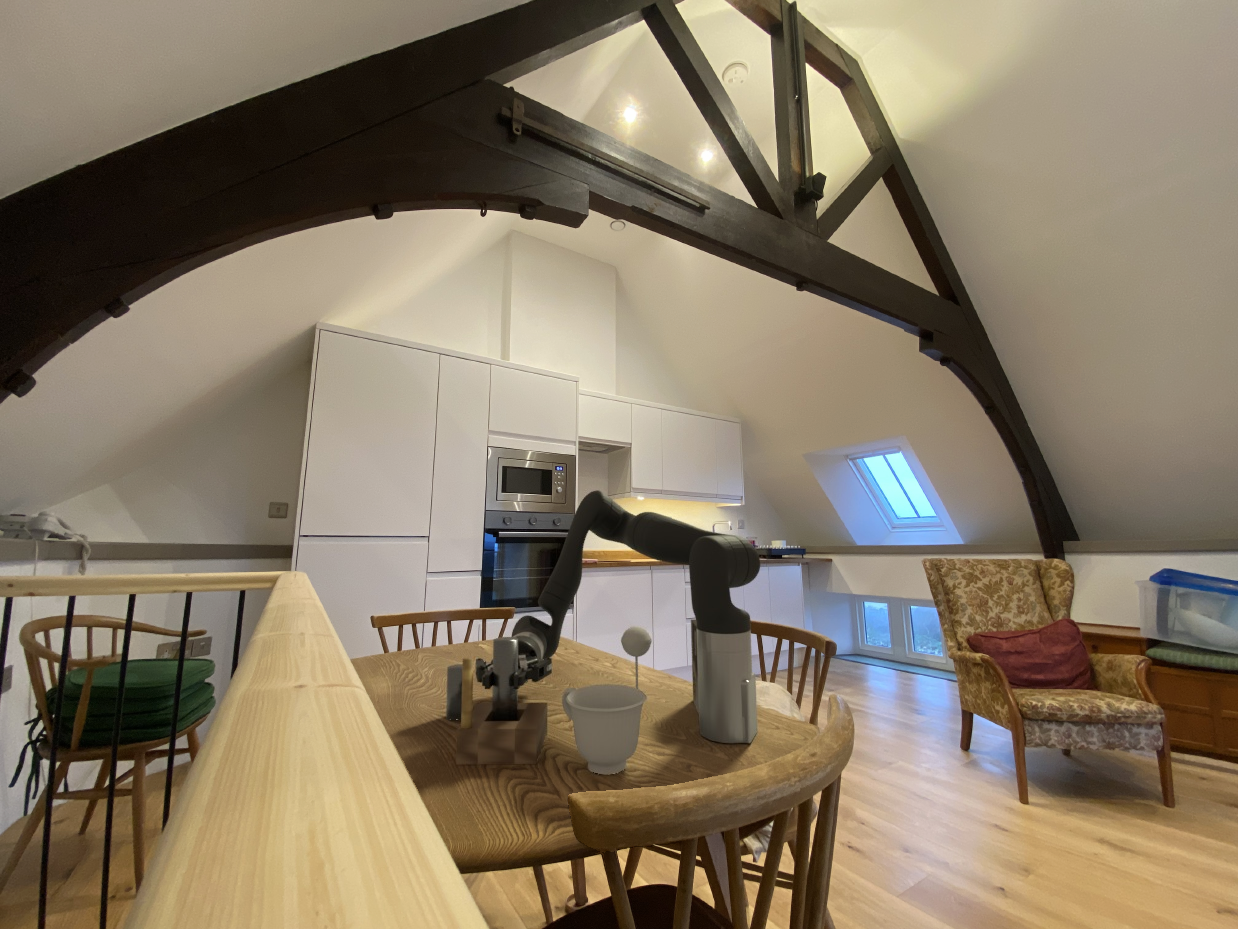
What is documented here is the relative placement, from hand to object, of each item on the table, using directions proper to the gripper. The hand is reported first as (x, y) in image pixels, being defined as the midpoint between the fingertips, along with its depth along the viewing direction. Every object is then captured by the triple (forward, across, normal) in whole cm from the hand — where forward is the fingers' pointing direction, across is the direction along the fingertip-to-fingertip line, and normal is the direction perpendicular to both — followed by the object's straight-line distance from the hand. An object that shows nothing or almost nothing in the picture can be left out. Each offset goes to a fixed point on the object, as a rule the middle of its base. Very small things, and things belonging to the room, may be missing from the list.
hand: (501, 682), depth 85 cm
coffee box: (-21, +36, +11) cm, 43 cm away
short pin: (-17, -12, +11) cm, 24 cm away
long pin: (-3, 0, +9) cm, 9 cm away
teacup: (+4, +16, +11) cm, 19 cm away
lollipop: (-23, +22, +11) cm, 34 cm away
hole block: (-3, 0, +11) cm, 11 cm away
